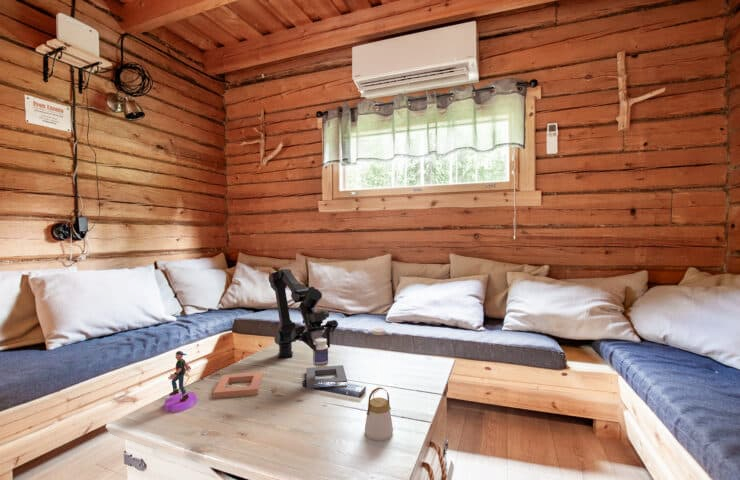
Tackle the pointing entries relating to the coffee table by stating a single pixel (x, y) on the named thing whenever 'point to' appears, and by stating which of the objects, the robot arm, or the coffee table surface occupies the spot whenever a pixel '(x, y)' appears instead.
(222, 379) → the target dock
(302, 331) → the robot arm
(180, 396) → the figurine
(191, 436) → the coffee table surface
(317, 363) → the pill bottle
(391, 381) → the coffee table surface
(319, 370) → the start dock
